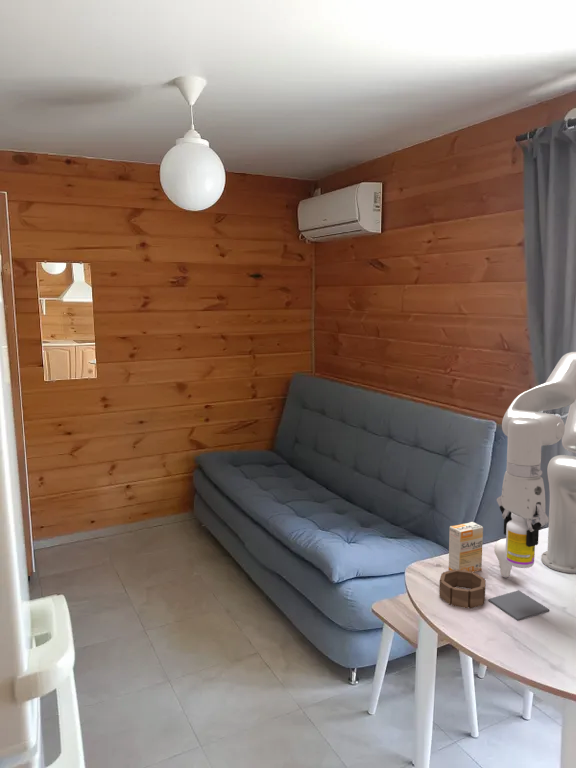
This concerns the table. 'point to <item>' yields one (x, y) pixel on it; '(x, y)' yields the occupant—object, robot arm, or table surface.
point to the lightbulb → (502, 558)
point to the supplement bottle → (518, 543)
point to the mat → (518, 605)
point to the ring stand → (462, 596)
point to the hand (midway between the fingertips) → (520, 538)
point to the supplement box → (465, 547)
